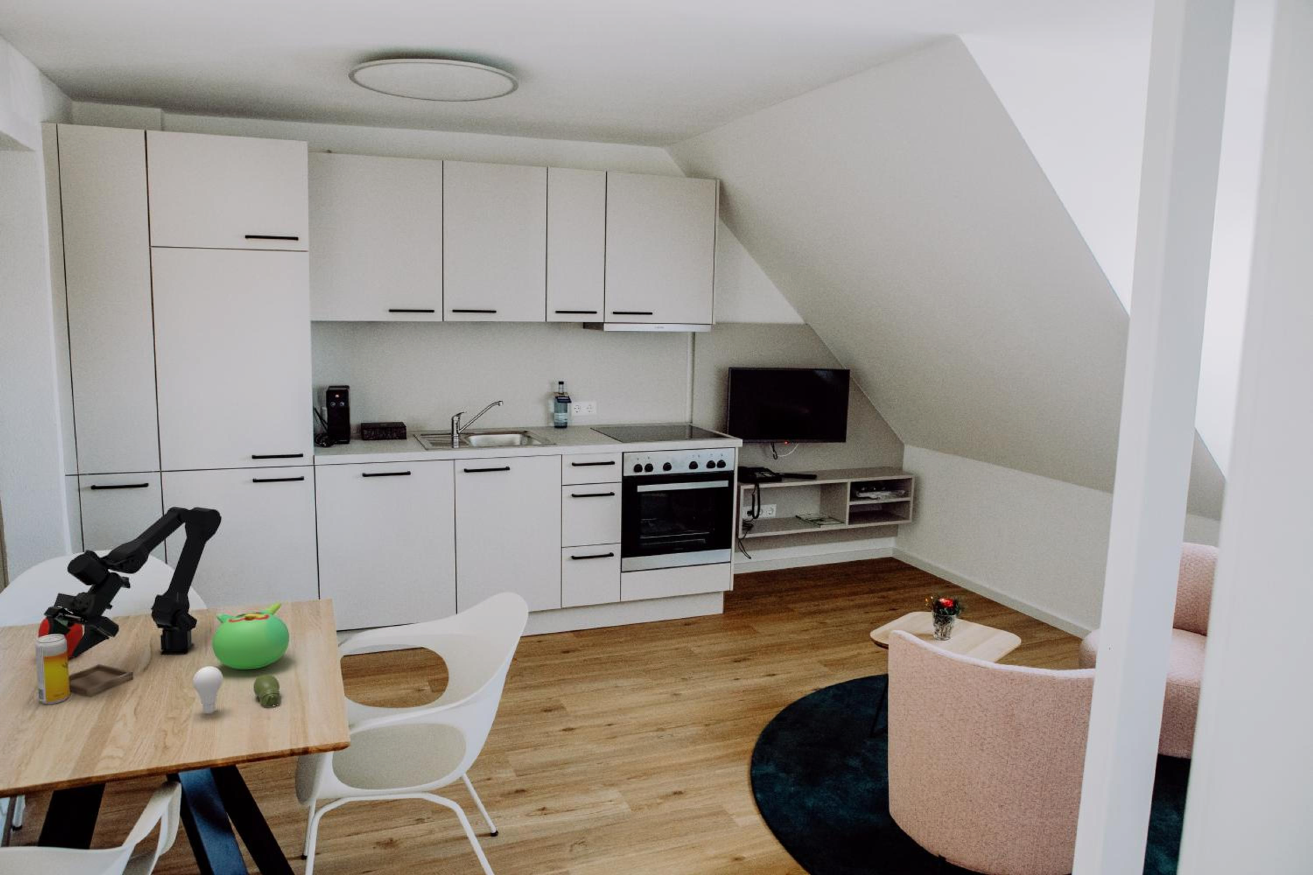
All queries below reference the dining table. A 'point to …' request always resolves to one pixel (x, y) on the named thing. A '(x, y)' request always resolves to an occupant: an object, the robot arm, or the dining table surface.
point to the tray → (97, 680)
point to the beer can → (52, 668)
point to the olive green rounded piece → (267, 690)
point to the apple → (71, 637)
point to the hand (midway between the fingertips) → (59, 653)
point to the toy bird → (251, 639)
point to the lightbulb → (208, 687)
